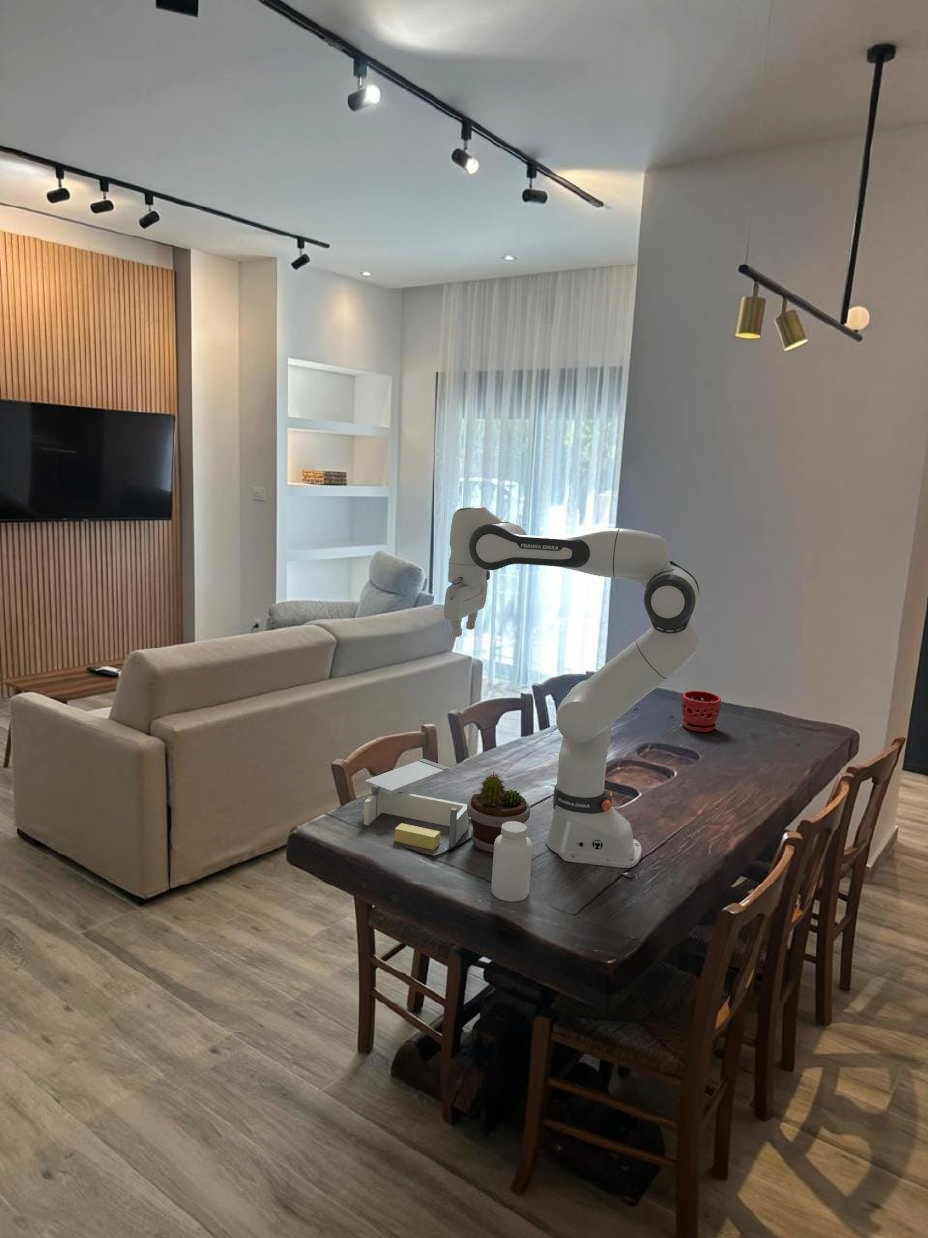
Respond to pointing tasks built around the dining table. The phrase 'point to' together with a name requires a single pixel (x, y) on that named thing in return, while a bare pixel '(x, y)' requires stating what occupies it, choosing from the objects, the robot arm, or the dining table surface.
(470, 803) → the flowerpot
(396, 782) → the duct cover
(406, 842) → the yellow rectangular block
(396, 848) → the dining table surface
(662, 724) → the dining table surface
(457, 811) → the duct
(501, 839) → the pill bottle
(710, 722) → the plant pot
